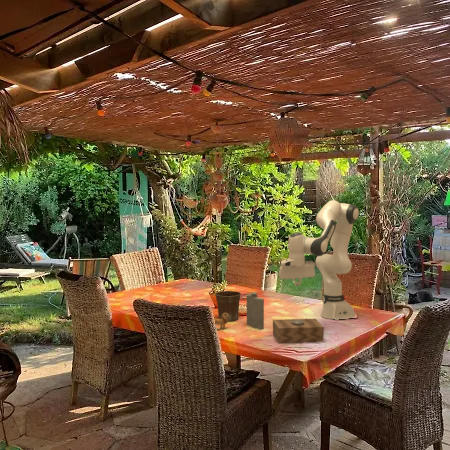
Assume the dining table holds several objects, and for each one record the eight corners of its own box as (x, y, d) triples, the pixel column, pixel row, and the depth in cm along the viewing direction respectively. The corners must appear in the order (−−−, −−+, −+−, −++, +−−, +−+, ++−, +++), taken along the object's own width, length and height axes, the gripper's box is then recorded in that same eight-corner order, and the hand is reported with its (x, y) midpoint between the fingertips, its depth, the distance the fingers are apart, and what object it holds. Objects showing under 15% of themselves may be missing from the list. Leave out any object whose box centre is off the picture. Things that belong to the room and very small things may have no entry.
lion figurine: (225, 326, 273) (225, 311, 272) (231, 328, 269) (231, 313, 268) (204, 330, 265) (204, 315, 264) (209, 333, 261) (209, 317, 260)
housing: (315, 332, 260) (315, 318, 259) (323, 341, 244) (323, 326, 243) (272, 334, 258) (272, 319, 257) (278, 343, 242) (278, 328, 241)
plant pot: (211, 317, 294) (211, 291, 292) (235, 314, 300) (234, 289, 298) (220, 323, 278) (220, 297, 277) (245, 320, 284) (245, 294, 283)
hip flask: (264, 329, 267) (264, 294, 266) (258, 330, 265) (258, 295, 264) (250, 322, 281) (250, 289, 280) (244, 323, 279) (244, 290, 278)
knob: (302, 331, 254) (302, 319, 254) (305, 335, 248) (305, 323, 247) (289, 332, 254) (289, 319, 253) (292, 335, 247) (292, 323, 247)
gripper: (313, 259, 266) (313, 283, 268) (278, 261, 265) (278, 285, 266) (316, 261, 260) (316, 285, 261) (280, 263, 258) (281, 288, 260)
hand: (297, 285), depth 264 cm, fingers closed
